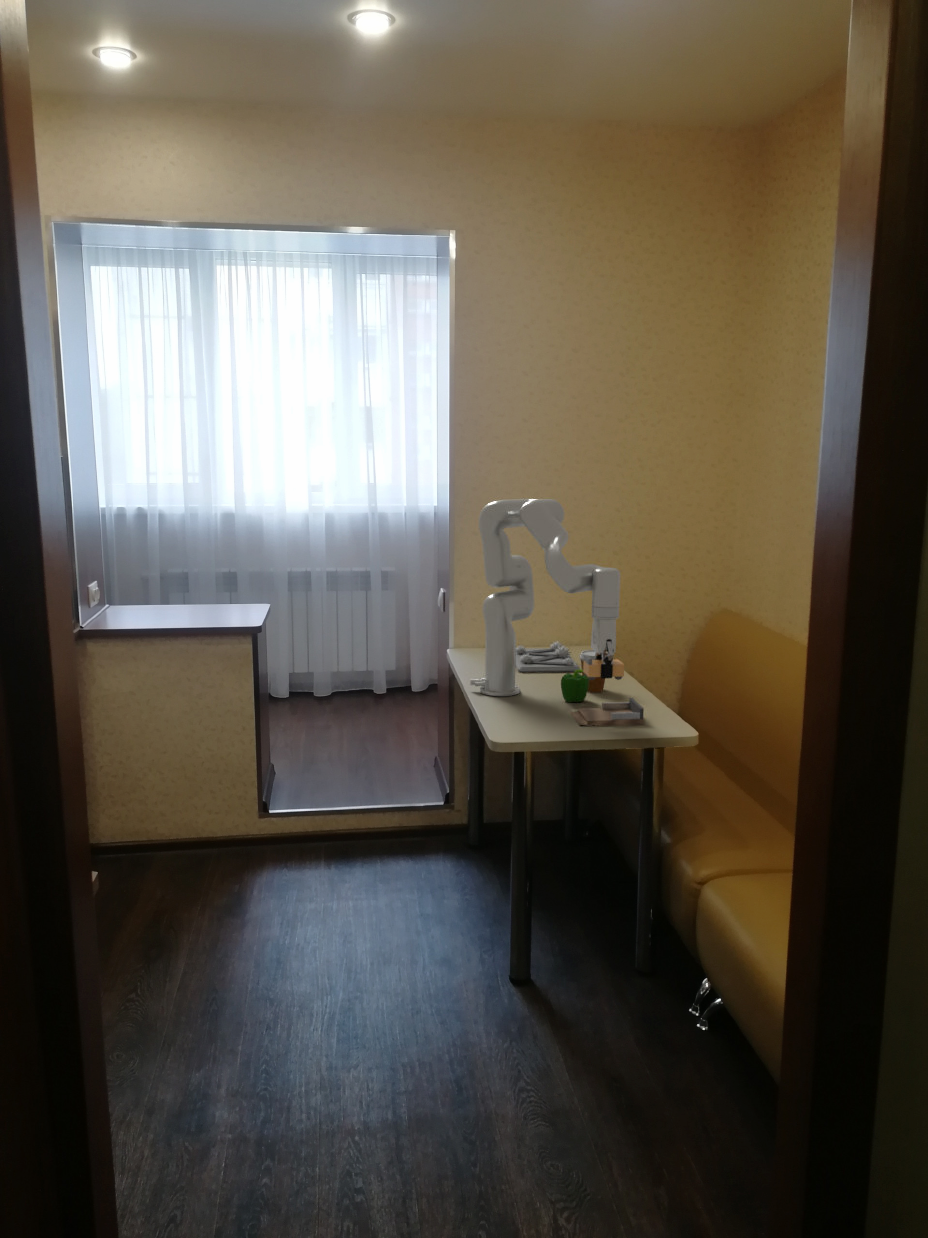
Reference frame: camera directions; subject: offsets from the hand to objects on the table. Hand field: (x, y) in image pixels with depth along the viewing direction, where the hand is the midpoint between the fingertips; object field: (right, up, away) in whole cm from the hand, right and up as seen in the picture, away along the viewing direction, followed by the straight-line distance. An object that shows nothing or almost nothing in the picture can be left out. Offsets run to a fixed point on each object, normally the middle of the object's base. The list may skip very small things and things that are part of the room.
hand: (603, 674), depth 263 cm
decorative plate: (-11, -1, +71) cm, 72 cm away
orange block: (0, -1, 0) cm, 1 cm away
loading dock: (+1, -13, +3) cm, 13 cm away
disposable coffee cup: (+2, -7, +34) cm, 35 cm away
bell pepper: (-6, -9, +22) cm, 24 cm away
